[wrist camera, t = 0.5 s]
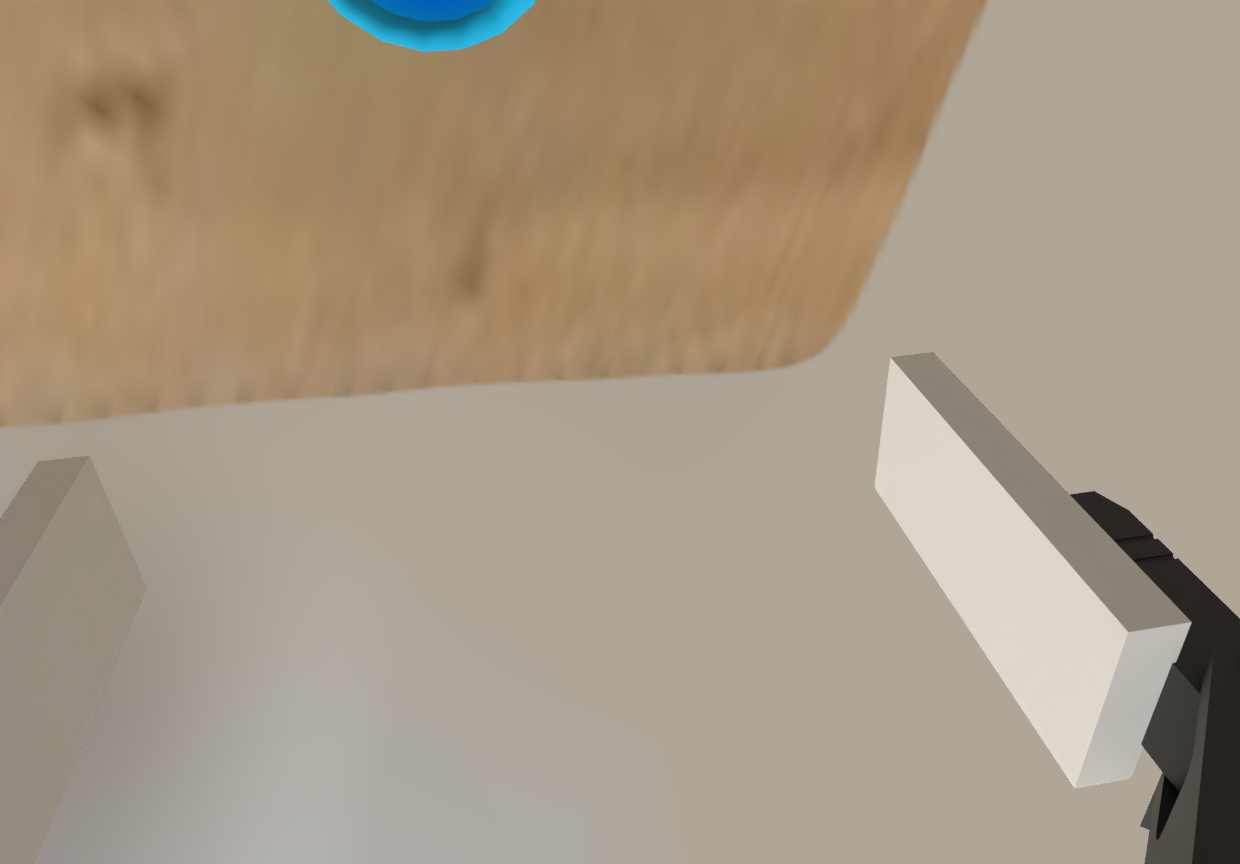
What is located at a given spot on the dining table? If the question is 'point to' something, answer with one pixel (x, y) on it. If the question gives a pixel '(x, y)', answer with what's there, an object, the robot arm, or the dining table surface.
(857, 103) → the dining table surface
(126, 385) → the dining table surface
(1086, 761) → the robot arm
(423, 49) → the mug
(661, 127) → the dining table surface
